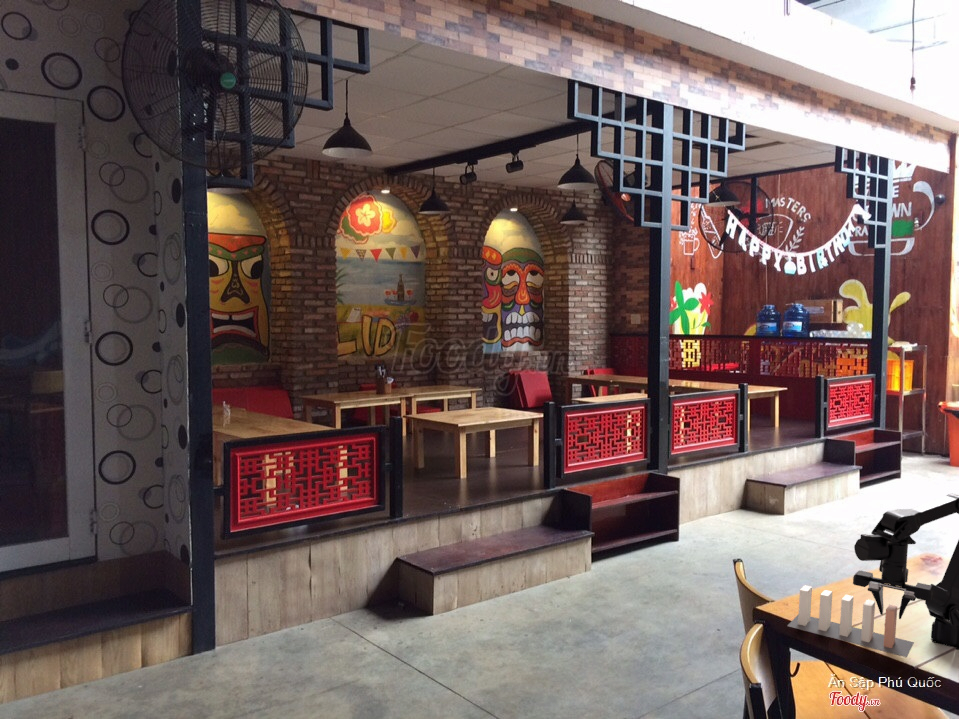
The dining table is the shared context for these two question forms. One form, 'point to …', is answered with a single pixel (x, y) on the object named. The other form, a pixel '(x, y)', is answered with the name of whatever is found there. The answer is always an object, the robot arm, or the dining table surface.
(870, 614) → the ivory domino
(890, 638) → the terracotta domino
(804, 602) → the ivory domino
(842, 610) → the ivory domino
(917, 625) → the dining table surface
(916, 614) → the dining table surface
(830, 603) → the ivory domino
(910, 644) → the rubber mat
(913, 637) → the dining table surface
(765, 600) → the dining table surface
